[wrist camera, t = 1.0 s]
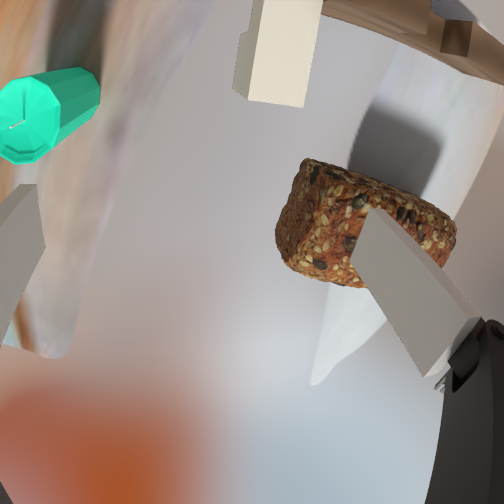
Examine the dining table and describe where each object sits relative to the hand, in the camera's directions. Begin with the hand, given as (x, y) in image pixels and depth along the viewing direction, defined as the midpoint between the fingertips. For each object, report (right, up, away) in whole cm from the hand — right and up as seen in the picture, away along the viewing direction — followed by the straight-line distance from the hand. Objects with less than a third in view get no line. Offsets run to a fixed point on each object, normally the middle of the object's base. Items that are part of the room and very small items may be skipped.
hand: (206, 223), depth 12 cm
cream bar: (+3, +20, +11) cm, 23 cm away
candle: (-15, +13, +12) cm, 23 cm away
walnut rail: (+17, +23, +13) cm, 31 cm away
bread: (+14, +4, +25) cm, 29 cm away
